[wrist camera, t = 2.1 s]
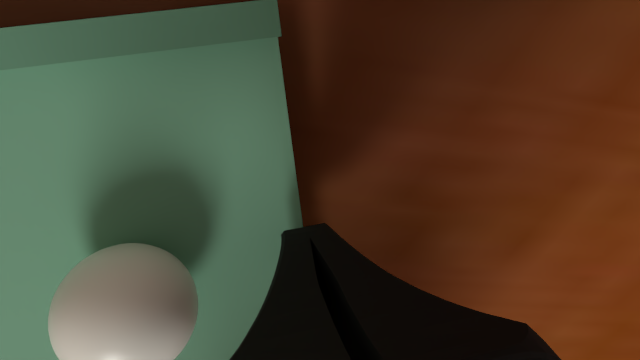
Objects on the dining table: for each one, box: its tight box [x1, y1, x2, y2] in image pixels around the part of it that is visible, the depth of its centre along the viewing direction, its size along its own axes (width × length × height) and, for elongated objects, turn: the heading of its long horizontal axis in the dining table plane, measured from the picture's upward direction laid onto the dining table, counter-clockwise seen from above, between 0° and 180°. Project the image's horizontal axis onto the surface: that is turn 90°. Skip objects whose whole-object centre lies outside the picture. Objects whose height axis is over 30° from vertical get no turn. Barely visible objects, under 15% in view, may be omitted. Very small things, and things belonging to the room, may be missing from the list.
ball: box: [48, 243, 198, 360], centre depth 11 cm, size 4×4×4 cm
